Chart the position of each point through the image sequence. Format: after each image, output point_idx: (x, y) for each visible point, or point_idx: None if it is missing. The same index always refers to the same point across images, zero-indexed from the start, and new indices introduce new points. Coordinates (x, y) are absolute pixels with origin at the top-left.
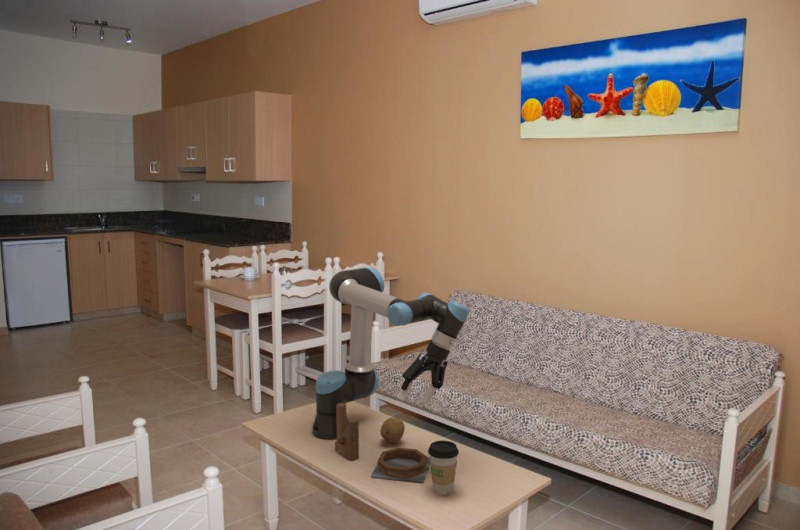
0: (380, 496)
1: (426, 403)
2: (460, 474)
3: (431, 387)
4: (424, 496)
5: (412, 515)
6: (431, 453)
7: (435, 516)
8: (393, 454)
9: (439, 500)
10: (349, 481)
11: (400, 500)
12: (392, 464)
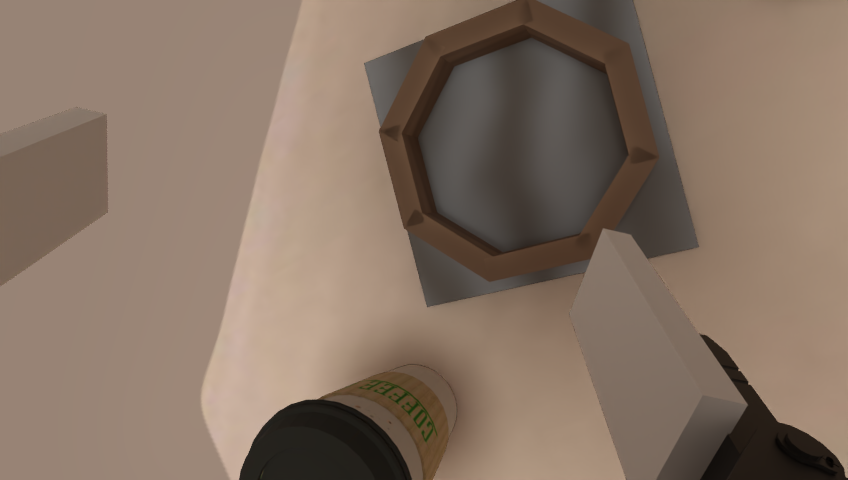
0: (266, 190)
1: (574, 310)
2: (594, 442)
3: (658, 429)
4: (341, 349)
5: (219, 356)
6: (252, 444)
7: (248, 433)
8: (571, 51)
9: None
10: (302, 4)
11: (277, 274)
12: (513, 89)
